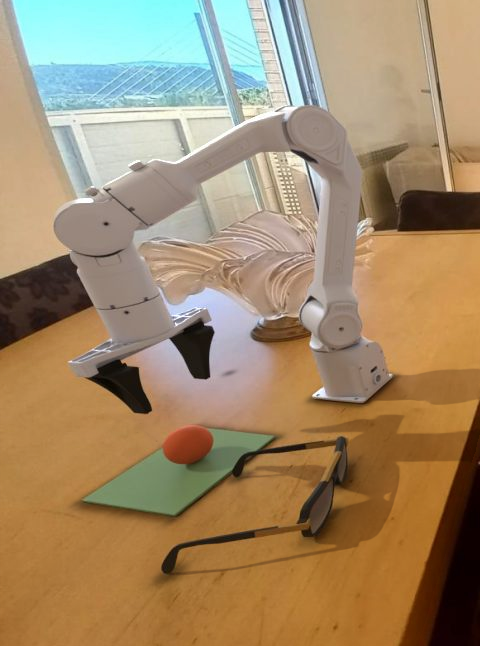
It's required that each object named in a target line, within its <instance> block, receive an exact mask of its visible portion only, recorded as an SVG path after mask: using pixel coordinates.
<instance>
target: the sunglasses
mask: <svg viewBox="0 0 480 646" xmlns="http://www.w3.org/2000/svg"><path fill="white" fill-rule="evenodd" d="M348 444H349V437H346V436H343V435H340V436H337V438H333V439H327V440H326V439H325V440H318V441H310V442H303V443H302V442H301V443H295V444H288V445H282V446H277V447H271V448H270V447H269V448H264V449H263V448H262V449H260V450H257V451H252V452H247V453H245V454H243V455H242V456H241V457H240V458H239V460H238V461H237V463H236V464H235V466H234V468H233V470H232V472H231V474H232V476H233V477H234V478H239V477H241V475H242V474H243V472H244V468H245V464H246V461H247V460H246V458H247V457H249V456H251V457H254V456H259V455H267V454H269V455H270V454H283V453H291V452H299V451H305V450H306V451H307V450H313V449H314V450H315V449H321V448H328V447H334V451H333V455H332V456H331V459H330V461H329V462H328V464H327V466H326V468H325V471H324V473H323V475H322V477H321V479H320V481H319V482H318V483H317V485H316V486H315V488H314V489H313V491H312V492H311V493H310V495H309V496H308V497H307V499H306V500H305V502H304V503H303V504H302V506H301V508H300V511H299V516H298V520H297V521H296V522H295V523H289V524H288V523H287V524H282V525H275V526H269V527H263V528H256V529H250V530H246V531H245V530H244V531H239V532H234V533H233V532H232V533H227V534H221V535H217V536H212V537H206V538H200V539H195V540H191V541H186V542H181V543H178V544H176V545H174V546H173V547H172V548H171V549H170V550H169V552H168V553H167V555H166V556H165V557H164V559H163V561H162V563H161V567H160V569H161V572H162V573H163V574H165V575H169V574H171V573H173V571H174V570H175V567H176V564H177V559H178V555H179V552H180V551H181V550H183V549H187V548H192V547H193V548H194V547H198V546H205V545H218V544H225V543H226V544H227V543H233V542H237V541H244V540H249V539H257V538H264V537H268V536H269V537H270V536H275V535H276V536H277V535H282V534H287V533H294V532H298V531H300V532H301V535H302V537H303V538H314V537H315V536H318V534H319V533H320V532H321V530H322V529H323V528H324V526H325V524H326V523H327V521H328V519H329V517H330V514H331V512H332V508H333V503H334V496H335V487H336V486H337V485H343V484H344V482H345V480H346V476H347V471H348V449H347V446H348ZM245 460H246V461H245Z"/></svg>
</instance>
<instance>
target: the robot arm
mask: <svg viewBox="0 0 480 646" xmlns="http://www.w3.org/2000/svg"><path fill="white" fill-rule="evenodd" d="M261 153H292V154H294V155H296V156H298V157H299V158H301V159H303V160H304V162H305V163H306V164H307V165H308V166H309V167H310V168H311V169H312V170H313V171H314V172H315V173H316V174H317V175H318V176H319V177H320V178H321V184H320V197H319V207H318V221H317V231H316V245H315V256H314V257H315V258H314V269H313V280H312V281H311V283H310V284H309V286H308V287H307V289H306V290H307V291H306V297H305V300H304V302H303V303H302V304H301V306H300V307H299V310H298V320H299V324H300V325H301V326H302V327H303V328H304V329H306V330H308V331H309V332H310V333H311V336H310V341H309V347H310V351H311V353H312V357H313V359H314V363H315V366H316V369H317V372H318V375H319V377H320V381H321V384H322V387H321V388H320V389H318V390H317V391H316V392H314V393H313V394H312V395H311V398H312V399H314V400H323V401H324V400H325V401H336V402H346V403H354V404H363V403H365V402H367V401H368V400H369V399H370V398H371V397H372V396H374V395H375V394H376V393H377V392H378V391H379V390H380V389H381V388H383V386H384V385H386V384H387V383H388V382H389V381H390V380H391V379H392V378H393V377H394V375H393V373H389V369H388V366H387V362H386V358H385V354H384V351H383V348H382V346H381V345H380V344H379V343H378V342H376V341H373V340H371V339H368V338H366V337H364V336H363V334H362V331H363V321H362V319H361V317H360V314H359V300H358V297H357V295H356V292H355V289H354V286H353V280H354V270H355V269H354V268H355V260H356V248H357V239H358V227H359V219H360V206H361V197H362V196H361V194H362V185H363V169H362V167H361V164H360V163H359V160H358V158H357V155H356V154H355V152H354V149H353V148H352V145H351V142H350V141H349V135H348V129H347V128H345V126H344V125H343V124H342V123H341V122H340V121H339V120H338V119H336V117H335V116H334V115H333V114H332V113H330V112H329V111H328V110H327V109H325V108H323V107H320V106H318V105H314V104H303V105H300V106H297V105H291V104H290V105H282V106H280V107H277V108H275V110H273V111H272V112H266V113H261V114H259V115H257V116H254V117H253V118H250V119H248V120H246V121H243V122H242V123H240V124H238V125H236V126H235V127H232V128H231V129H229V130H228V131H226V132H225V133H223V134H221V135H220V136H217V137H216V138H214V139H213V140H211V141H209V142H208V143H206V144H204V145H202V146H201V147H199V148H197V149H195V150H194V151H193V152H190V153H189V154H187V155H186V156H183V157H182V158H181V159H179V160H177V161H175V162H174V161H167V160H162V159H156V158H155V159H153V158H152V159H151V160H149V161H147V162H146V163H144V162H143V161H141V160H135V161H133V162H132V163H130V164H128V165H127V166H128V168H129V169H130V171H129V172H127V173H125V174H122V175H120V176H119V177H117V178H116V179H113V180H112V181H109V182H108V183H106V184H104V185H102V186H100V187H99V188H97V187H95V186H93V185H91V186H89V187H87V188H85V189H84V190H83V193H84V194H85V195H86V196H88V197H89V198H87V197H86V198H76V199H73V200H70V201H67V202H65V203H63V204H62V205H61V206H60V207H59V208H58V209H56V212H55V214H54V216H53V232H54V233H53V234H54V235H55V237H56V239H57V240H58V241H59V242H60V243H61V244H62V245H63V246H65V247H66V248H68V249H69V258H70V261H71V262H72V263H73V264H74V265H75V266H76V267H77V269H76V274H77V276H78V277H79V279H80V282H81V283H82V285H83V287H84V289H85V291H86V293H87V295H88V297H89V300H91V303H92V304H93V306H94V308H95V310H96V312H97V314H98V316H99V317H100V319H101V321H102V323H103V325H104V327H105V329H106V331H107V333H108V335H109V336H110V338H109V339H107V340H106V341H104V342H102V343H101V344H98V345H97V346H94V348H92V349H90V350H89V351H87V352H85V353H83V354H82V355H80V356H77V357H75V358H73V359H70V360H69V361H67V362H66V363H67V365H68V366H69V368H70V370H71V372H72V373H73V375H74V377H77V378H84V379H86V380H88V381H90V382H92V383H94V384H96V385H98V386H100V387H101V388H103V389H105V390H106V391H108V392H109V393H111V394H113V395H114V396H115V397H117V398H118V399H119V400H120V401H121V402H122V403H124V404H125V406H127V408H128V409H130V411H131V412H132V413H133V414H141V415H147V414H149V413H151V412H153V407H152V404H151V402H150V400H149V398H148V396H147V394H146V392H145V391H144V388H143V385H142V380H141V376H140V375H141V374H140V367H139V366H134V365H127V363H126V362H122V361H123V360H125V359H127V358H129V357H132V356H134V355H136V354H138V353H140V352H142V351H145V350H147V349H149V348H151V347H154V346H156V345H158V344H160V343H162V342H164V341H166V340H168V339H169V340H170V342H171V343H172V344H173V345H174V347H175V348H176V350H177V351H178V352H179V354H180V356H181V358H182V359H183V361H184V363H185V365H186V368H187V369H188V373H190V375H191V376H192V378H193V379H195V380H205V381H206V380H208V379H210V378H211V367H210V366H211V365H210V355H211V353H210V352H211V347H212V342H213V338H214V336H215V333H216V332H215V329H214V327H213V325H207V324H208V323H210V322H212V317H211V315H210V312H209V310H208V308H207V307H193V308H191V309H188V310H186V311H182V312H179V313H177V314H174V315H173V314H172V315H171V313H170V311H169V309H168V307H167V305H166V302H165V300H164V298H163V296H162V293H161V292H160V289H159V287H158V285H157V283H156V281H155V278H154V276H153V274H152V271H151V270H150V267H149V265H148V263H147V260H146V259H145V257H143V256H142V255H141V254H139V252H138V249H137V247H136V244H135V242H134V237H135V236H134V235H135V232H137V231H147V230H149V229H150V228H152V227H153V226H155V225H156V224H158V223H161V222H162V221H164V220H165V219H167V218H168V217H170V216H172V215H174V214H176V213H177V212H179V211H180V210H182V209H185V207H188V206H189V205H191V204H192V203H194V202H196V201H197V200H198V199H199V198H198V197H199V187H200V185H201V184H203V183H204V182H206V181H209V180H211V179H213V178H214V177H216V176H218V175H220V174H223V173H224V172H225V171H228V170H229V169H231V168H233V167H235V166H237V165H239V164H241V163H243V162H244V161H247V160H248V159H250V158H252V157H254V156H256V155H258V154H261Z"/></svg>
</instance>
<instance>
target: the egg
mask: <svg viewBox="0 0 480 646" xmlns="http://www.w3.org/2000/svg"><path fill="white" fill-rule="evenodd" d="M207 428H208V427H206V426H205V427H204V426H202V425H199V424H188V425H184V426H180V427H178V428H176V429H174V430H173V431H172V432H171V433H169V434H168V435H167V437H166V438H165V440H164V441H163V445H162V448H163V453H164V456H165V457H166V458H167V459H168V460H169V461H171V462H173V463H176V464H190V463H194V462H197V461H199V460H201V459H202V458H204V457H205V456H206V455H207V454H208V453H209V452H210V450H211V448H212V446H213V436H212V434H211V432H210V431H209V430H208V429H207Z"/></svg>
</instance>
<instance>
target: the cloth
mask: <svg viewBox="0 0 480 646" xmlns="http://www.w3.org/2000/svg"><path fill="white" fill-rule="evenodd" d="M206 428H207V429H208V430H209V431H210V432H211V434H212V436H213V446H212V448H211V450H210V452H209V453H208V454H207V455H206V456H205V457H204V458H202V459H201V460H199V461H197V462H194V463H190V464H176V463H173V462H171V461H169V460H168V459H167V458H166V457H165V456H164V453H163V447H161V448H159V449H158V450H156V451H155V452H153V453H152V454H151V455H149V456H147V457H146V458H144V459H142V460H141V461H139V462H138V463H137V464H135V465H133V466H132V467H130V468H128V469H127V470H125V471H124V472H122V473H120V474H119V475H118V476H116V477H115V478H113V479H111V480H110V481H109V482H107V483H106V484H104V485H102V486H100V487H99V488H98V489H96V490H94V491H93V492H92V493H90V494H89V495H87V496H86V497H84V498H82V499H81V502H82V503H87V504H93V505H99V506H106V507H113V508H120V509H125V510H131V511H139V512H142V513H143V512H144V513H149V514H150V513H151V514H157V515H163V516H170V517H177V516H178V515H180V514H181V513H182V512H183V511H184V510H186V509H187V508H189V506H191V505H192V504H194V503H195V502H196V501H197V500H198V499H199V498H200V497H202V496H204V495H205V494H206V493H207V492H208V491H210V490H211V489H212V488H214V487H215V486H216V485H218V484H219V483H220V482H221V481H222V480H224V479H226V477H228V476H229V475H230V474H232V470H233V468H234V466H235V464H236V463H237V461H238V460H239V458H240V457H241V456H242V455H243V454H245V453H247V452H252V451H257V450H262V449H263V448H264V447H265V446H266V445H268V444H269V443H270V442H272V441H273V440H274V439H275V438H276V436H275V435H268V434H261V433H253V432H252V433H251V432H244V431H234V430H226V429H219V428H218V429H217V428H210V427H209V428H208V427H206ZM251 457H252V456H249V457H247V458H246V460H245V462H246V461H248V460H249V459H250V458H251Z"/></svg>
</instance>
